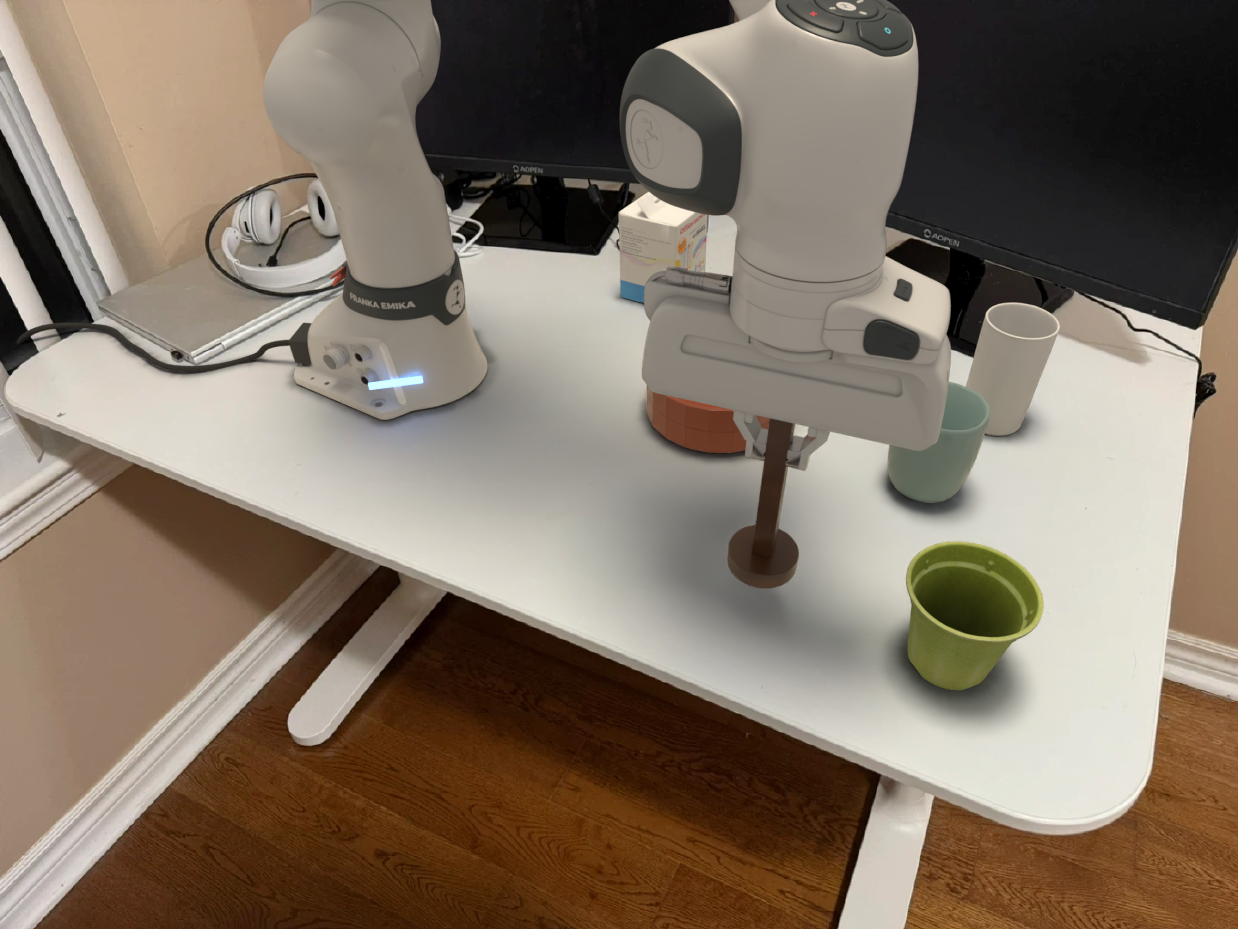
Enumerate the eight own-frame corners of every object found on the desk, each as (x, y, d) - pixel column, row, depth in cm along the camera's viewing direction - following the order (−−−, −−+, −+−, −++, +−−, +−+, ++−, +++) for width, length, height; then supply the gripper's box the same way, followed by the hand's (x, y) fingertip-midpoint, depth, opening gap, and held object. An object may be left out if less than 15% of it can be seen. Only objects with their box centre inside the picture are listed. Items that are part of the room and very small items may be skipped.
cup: (972, 476, 83) (1000, 394, 76) (952, 525, 78) (979, 442, 71) (893, 451, 86) (914, 370, 79) (869, 497, 81) (888, 415, 74)
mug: (1013, 446, 86) (1049, 346, 78) (947, 424, 89) (976, 325, 81) (1039, 396, 92) (1075, 300, 84) (977, 377, 95) (1007, 282, 87)
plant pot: (1007, 727, 62) (1042, 656, 56) (876, 689, 65) (898, 617, 59) (1012, 631, 69) (1045, 559, 63) (893, 600, 71) (914, 528, 66)
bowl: (626, 439, 88) (625, 393, 85) (672, 361, 99) (673, 317, 95) (769, 471, 84) (775, 423, 80) (800, 386, 95) (807, 341, 91)
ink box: (675, 313, 107) (677, 213, 98) (618, 297, 111) (616, 199, 102) (706, 284, 113) (710, 186, 104) (651, 269, 116) (651, 174, 107)
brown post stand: (718, 577, 67) (736, 401, 56) (737, 530, 71) (757, 356, 60) (787, 597, 66) (821, 419, 54) (802, 548, 70) (837, 372, 58)
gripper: (627, 284, 53) (628, 452, 62) (969, 348, 47) (914, 523, 56) (660, 241, 57) (656, 403, 66) (977, 294, 51) (925, 464, 61)
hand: (777, 459), depth 61 cm, fingers closed on brown post stand
